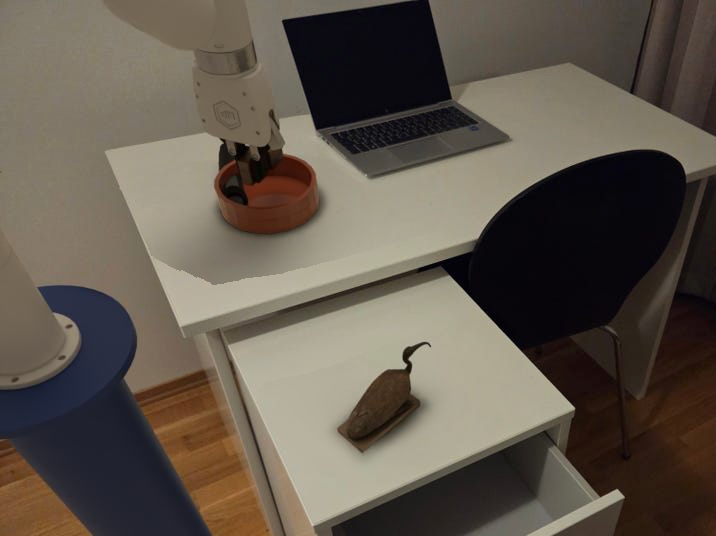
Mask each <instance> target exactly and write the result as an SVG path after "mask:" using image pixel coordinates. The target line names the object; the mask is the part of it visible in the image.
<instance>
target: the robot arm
mask: <svg viewBox="0 0 716 536" xmlns="http://www.w3.org/2000/svg"><path fill="white" fill-rule="evenodd" d="M101 2H102V4H103V5H104V6H105V8H106V9H107V10H108V11H109V12H110V13H111V14H112V15H114V16H115V17H116V18H118V19H119V20H121V21H122V22H123V23H126V24H128V25H130V26H131V27H133V28H135V29H137V30H139V31H140V32H143V33H145V34H147V35H149V36H150V37H152V38H153V39H155V40H157V41H159V42H161V43H162V44H164V45H165V46H168V47H170V48H172V49H175V50H178V51H184V52H185V51H186V52H189V51H192V52H193V55H194V58H195V59H194V61H193V62H192V64H191V73H192V85H193V94H194V98H195V103H196V108H197V113H198V116H199V121H200V123H201V127H202V129H203V131H204V132H205V133H206V134H208V135H209V136H211V137H214V138H218V140H220V142H222V144H223V143H224V144H225V145H226V146H227V147H228V151H229V153H230V154H232V155H234V157H235V161H236V165H237V169H238V171H239V175H240V178H241V179H242V177H241V173H240V169H239V165H238V160H239V159H240V158H241V157H242V156H243V155H244V154H245V153H246V152H247V151H248V150H249V149H250V151H251V156H252V158H251V159H250V165H251V169H252V173H253V177H254V181H255V182H256V183H260V182H261V181H262V180H263V179H264V178H265V177H266V176H267V175H268V173H269V167H268V163H267V158H266V153H267V152H268V151H269V150H278V149H281V148H282V147H283V148H284V146H285V145H286V141H285V139H284V136H283V135H282V134H281V131H280V130H281V126H280V125H281V124H280V118H279V113H278V109H277V104H276V101H275V98H274V94H273V90H272V88H271V84H270V82H269V79H268V76H267V74H266V71H265V69H264V67H263V65H262V64H261V63H260V62H258V57H257V51H256V47H255V43H254V37H253V33H252V27H251V23H250V17H249V13H248V9H247V8H248V7H247V4H246V0H101ZM249 146H250V148H249ZM283 148H282V149H283ZM37 287H38V286H37V285H36V283H35V281H34V280H33V279H32V277H31V275H30V273H29V272H28V271H27V269H26V267H25V266H24V264H23V262H22V261H21V259H20V257H19V256H18V255H17V253H16V251H15V249H14V248H13V247H12V245H11V243H10V242H9V241H8V239H7V237H6V236H5V234H4V233H3V231H2V229H1V228H0V389H1V390H14V389H21V388H26V387H30V386H33V385H37V384H39V383H42V382H44V381H47V380H48V379H50V378H52V377H54V376H56V375H57V374H59V373H60V372H61V371H63V370H64V369H65V368H66V367H67V366H68V365H70V364H71V363H72V361H73V360H74V359H75V357H76V356H77V354H78V352H79V350H80V348H81V343H82V337H81V333H80V331H79V329H78V327H77V326H76V324H75V323H74V322H73V321H72V320H71V319H70V318H68V317H66V316H64V315H61V314H57V313H53V312H52V311H51V309H50V308H49V306H48V304H47V303H46V301H45V299H44V298H43V296H42V295H41V293H40V291H39V290H38V288H37Z"/></svg>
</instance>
